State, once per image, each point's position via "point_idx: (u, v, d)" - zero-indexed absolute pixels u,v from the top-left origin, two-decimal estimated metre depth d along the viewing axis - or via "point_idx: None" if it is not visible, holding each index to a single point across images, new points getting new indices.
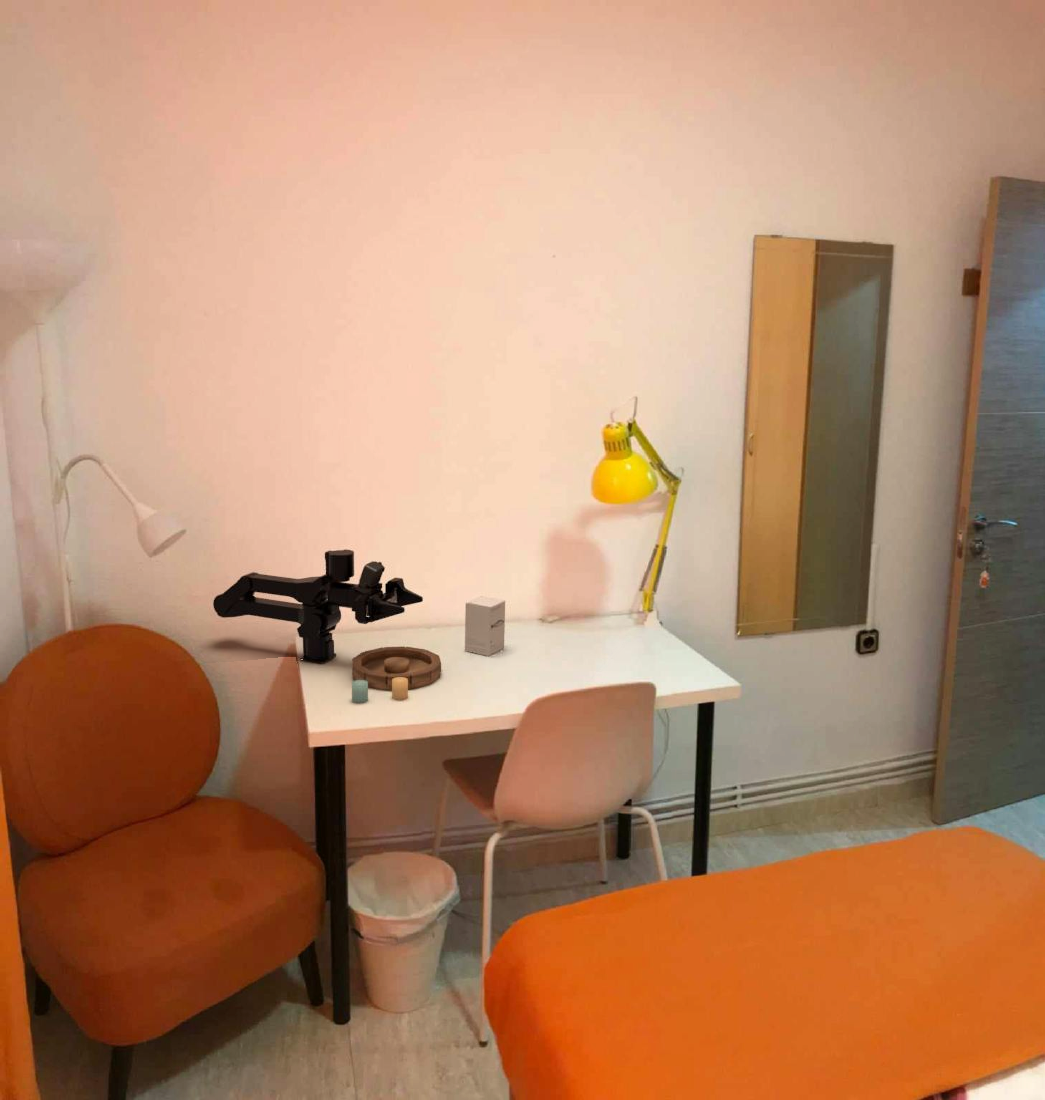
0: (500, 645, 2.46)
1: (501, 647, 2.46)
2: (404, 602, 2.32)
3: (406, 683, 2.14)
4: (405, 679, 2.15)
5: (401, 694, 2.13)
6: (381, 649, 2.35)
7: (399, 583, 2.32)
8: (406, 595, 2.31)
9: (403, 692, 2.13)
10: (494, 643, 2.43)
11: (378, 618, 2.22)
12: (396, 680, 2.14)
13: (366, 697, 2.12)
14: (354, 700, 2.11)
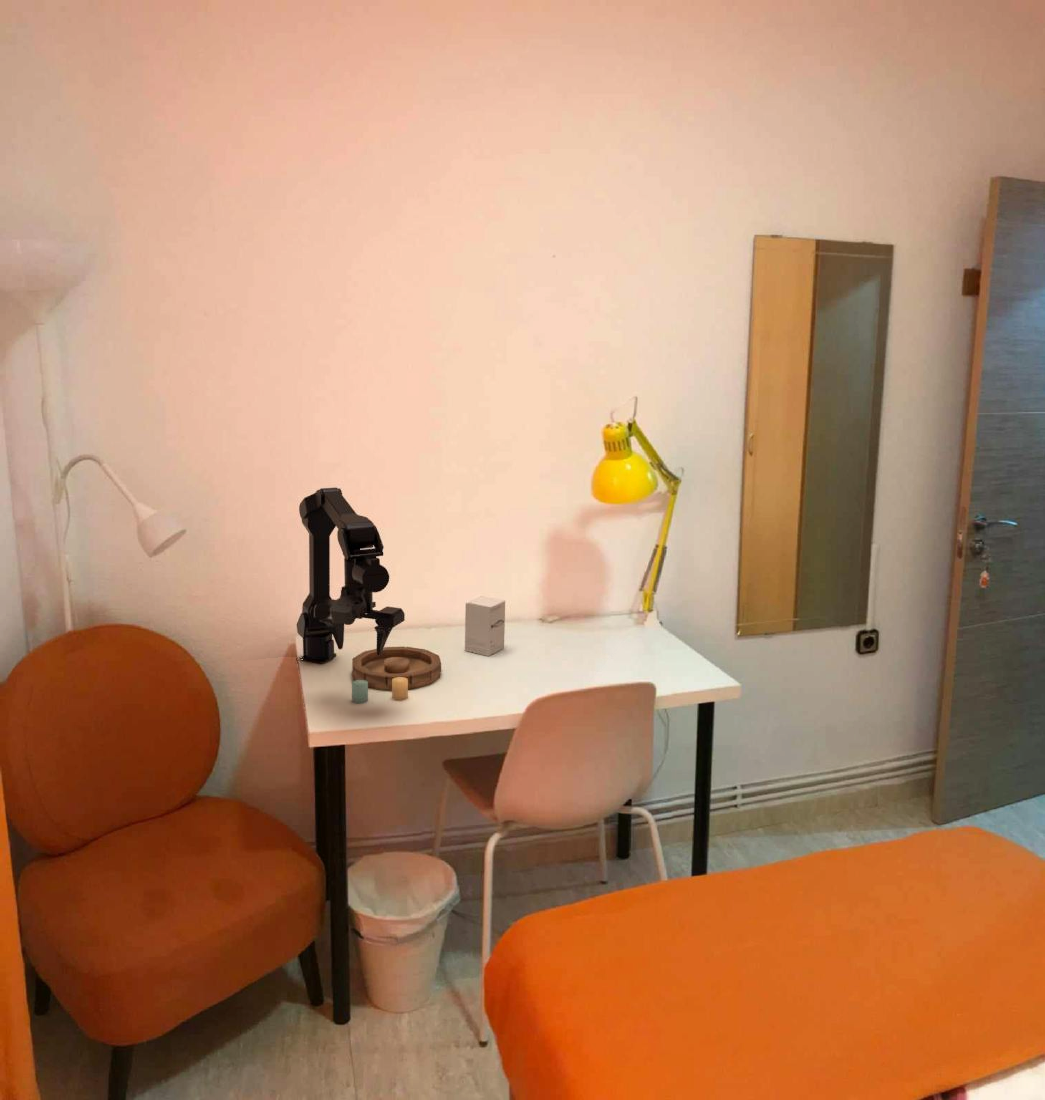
0: (500, 645, 2.46)
1: (501, 647, 2.46)
2: None
3: (406, 683, 2.14)
4: (405, 679, 2.15)
5: (401, 694, 2.13)
6: None
7: (377, 629, 2.05)
8: None
9: (403, 692, 2.13)
10: (494, 643, 2.43)
11: None
12: (396, 680, 2.14)
13: (366, 697, 2.12)
14: (354, 700, 2.11)
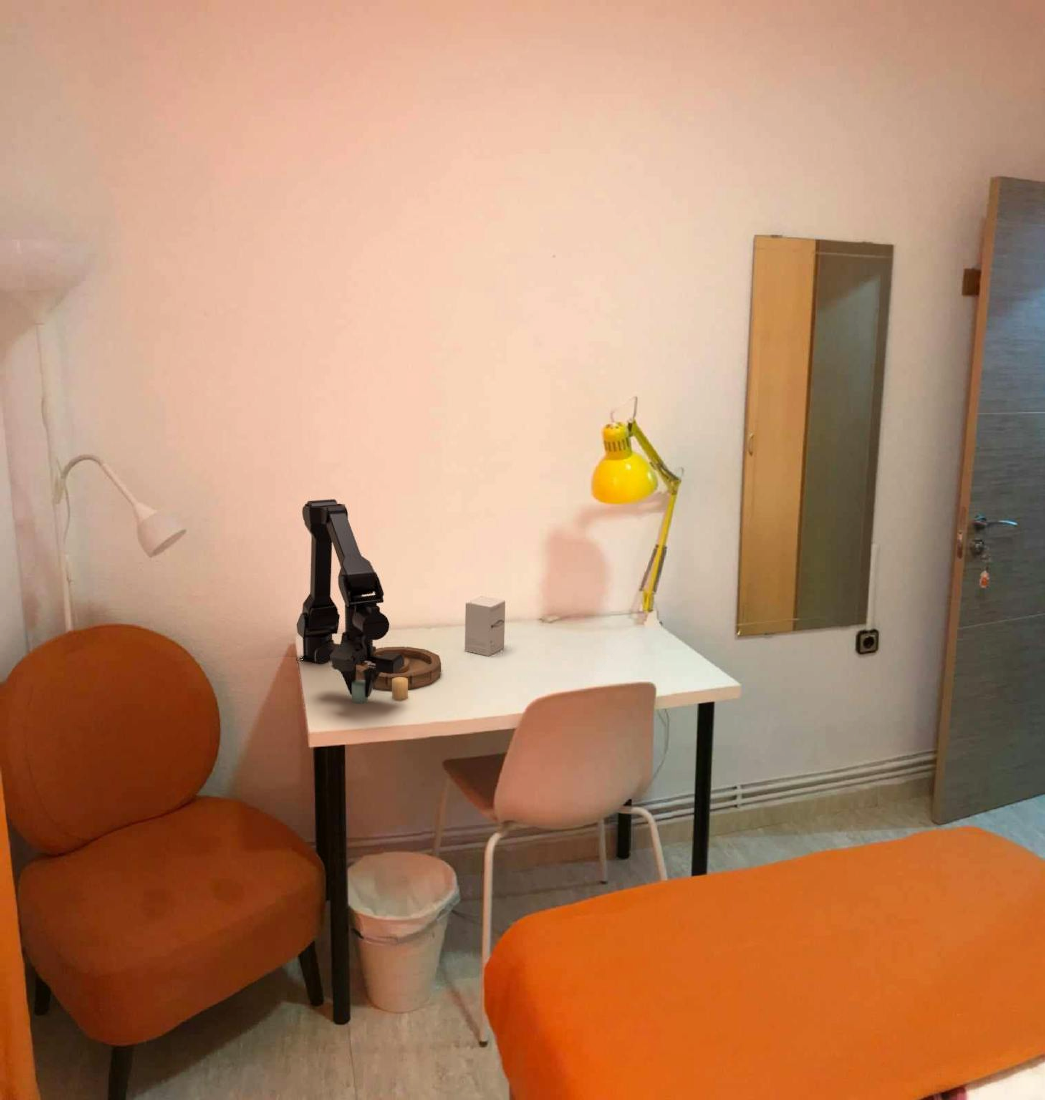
0: (500, 645, 2.46)
1: (501, 647, 2.46)
2: None
3: (406, 683, 2.14)
4: (405, 679, 2.15)
5: (401, 694, 2.13)
6: (381, 649, 2.35)
7: (365, 673, 2.08)
8: None
9: (403, 692, 2.13)
10: (494, 643, 2.43)
11: None
12: (396, 680, 2.14)
13: (366, 697, 2.12)
14: (354, 700, 2.11)
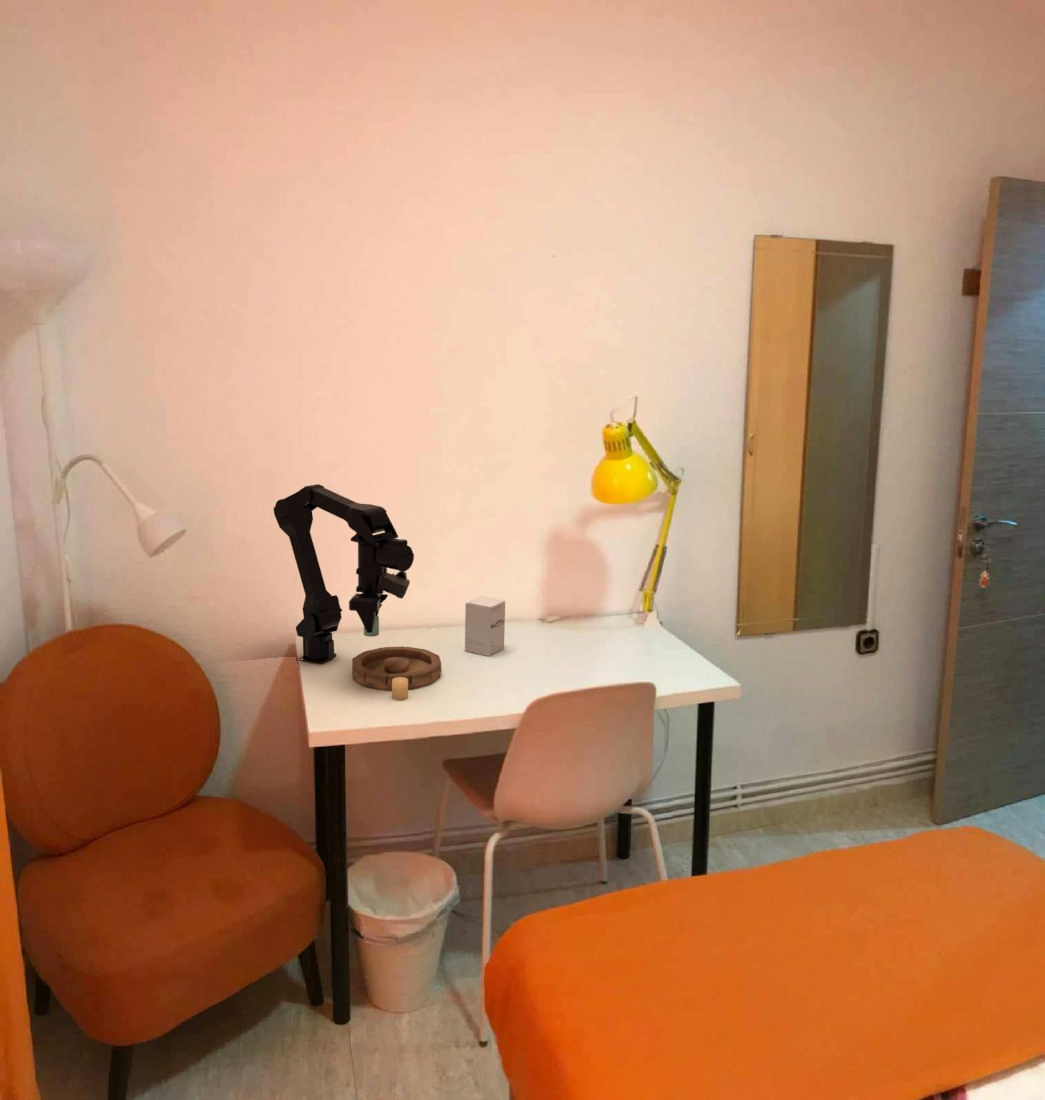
0: (500, 645, 2.46)
1: (501, 647, 2.46)
2: None
3: (406, 683, 2.14)
4: (405, 679, 2.15)
5: (401, 694, 2.13)
6: (381, 649, 2.35)
7: None
8: None
9: (403, 692, 2.13)
10: (494, 643, 2.43)
11: (358, 611, 2.20)
12: (396, 680, 2.14)
13: None
14: (378, 632, 2.25)
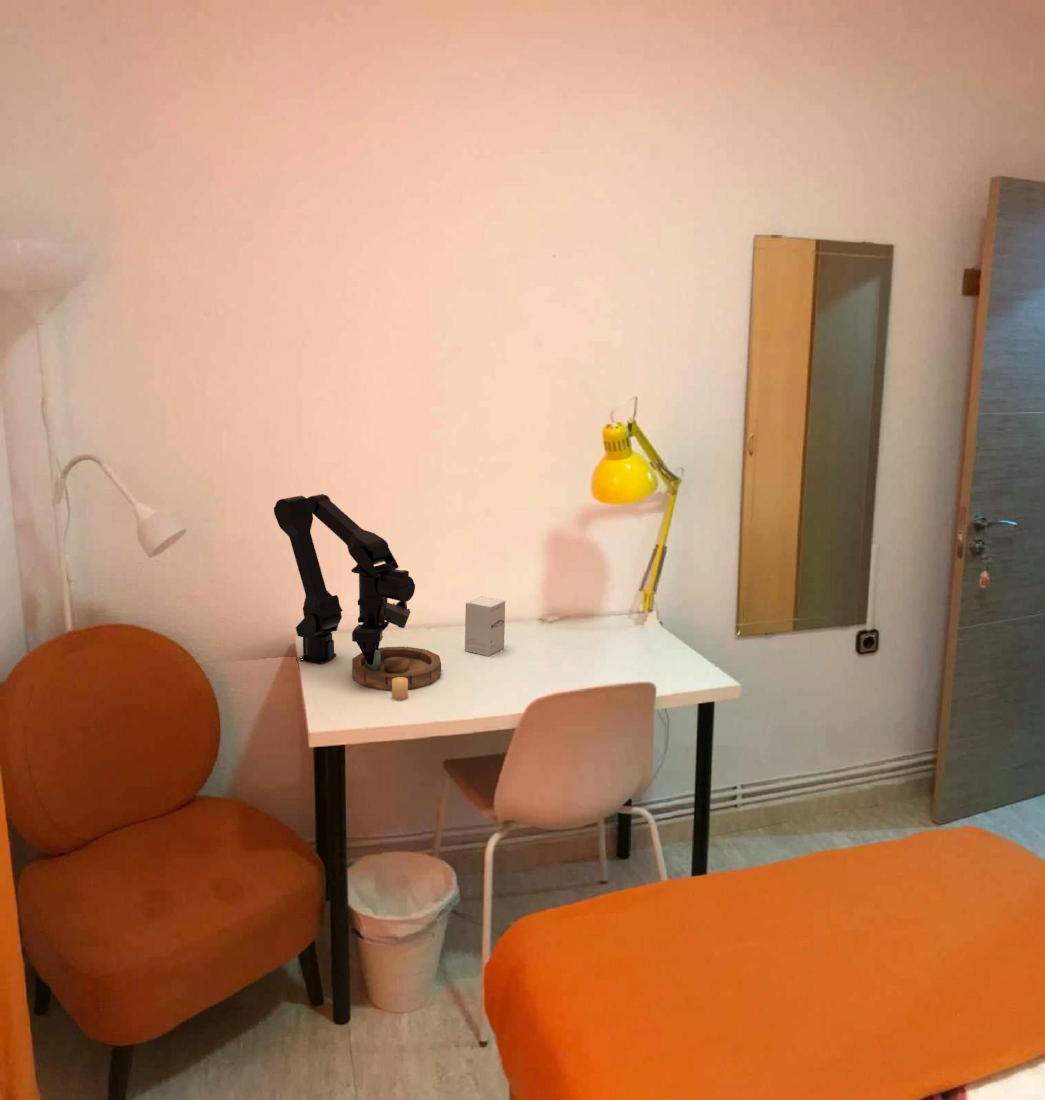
0: (500, 645, 2.46)
1: (501, 647, 2.46)
2: None
3: (406, 683, 2.14)
4: (405, 679, 2.15)
5: (401, 694, 2.13)
6: (381, 649, 2.35)
7: None
8: None
9: (403, 692, 2.13)
10: (494, 643, 2.43)
11: (359, 644, 2.21)
12: (396, 680, 2.14)
13: None
14: (379, 667, 2.28)
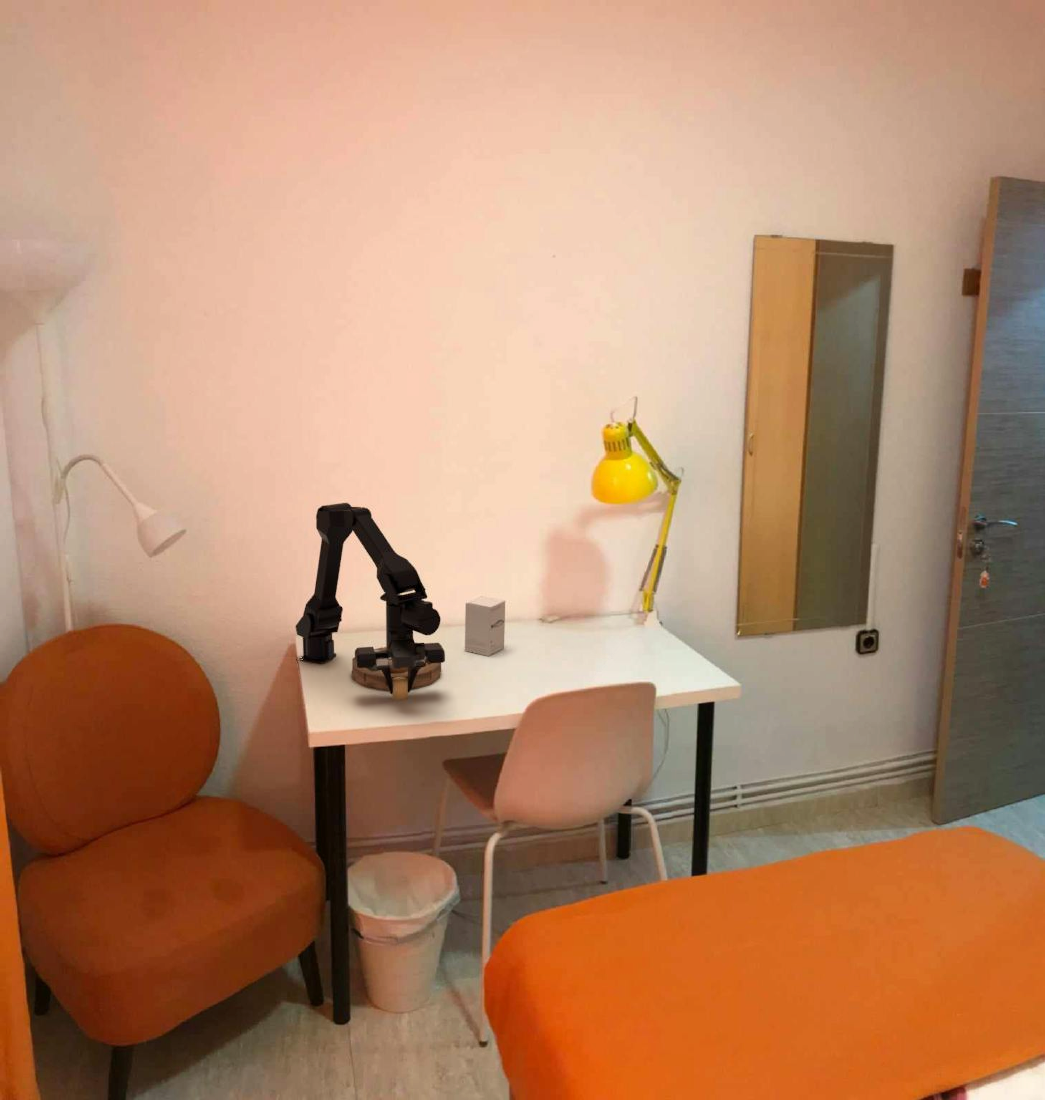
0: (500, 645, 2.46)
1: (501, 647, 2.46)
2: (409, 668, 2.16)
3: (406, 683, 2.14)
4: (405, 679, 2.15)
5: (401, 694, 2.13)
6: (381, 649, 2.35)
7: (415, 667, 2.12)
8: (409, 674, 2.14)
9: (403, 692, 2.13)
10: (494, 643, 2.43)
11: None
12: (396, 680, 2.14)
13: None
14: None
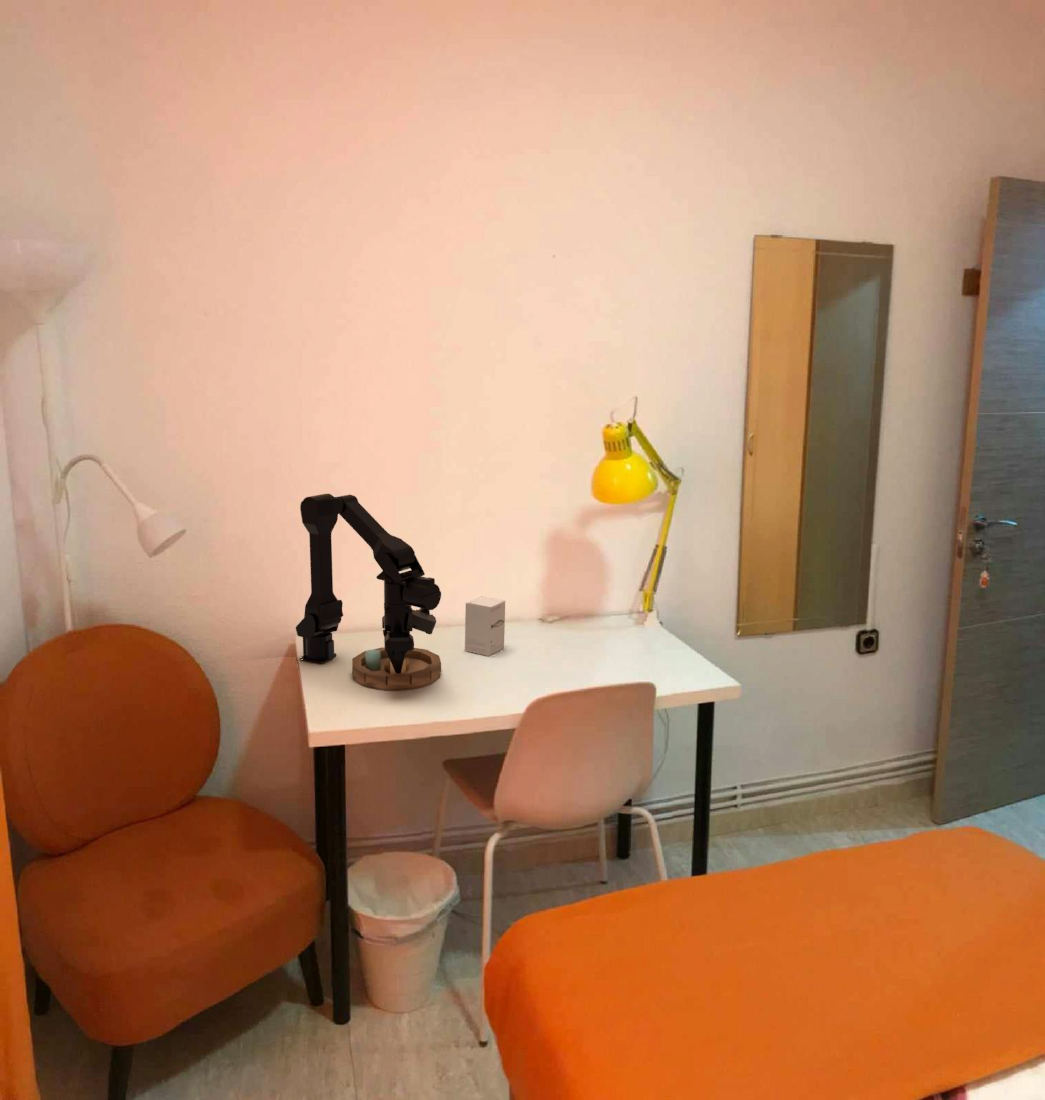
0: (500, 645, 2.46)
1: (501, 647, 2.46)
2: None
3: None
4: None
5: (405, 672, 2.23)
6: (381, 649, 2.35)
7: None
8: None
9: None
10: (494, 643, 2.43)
11: (388, 653, 2.16)
12: None
13: None
14: (379, 667, 2.28)
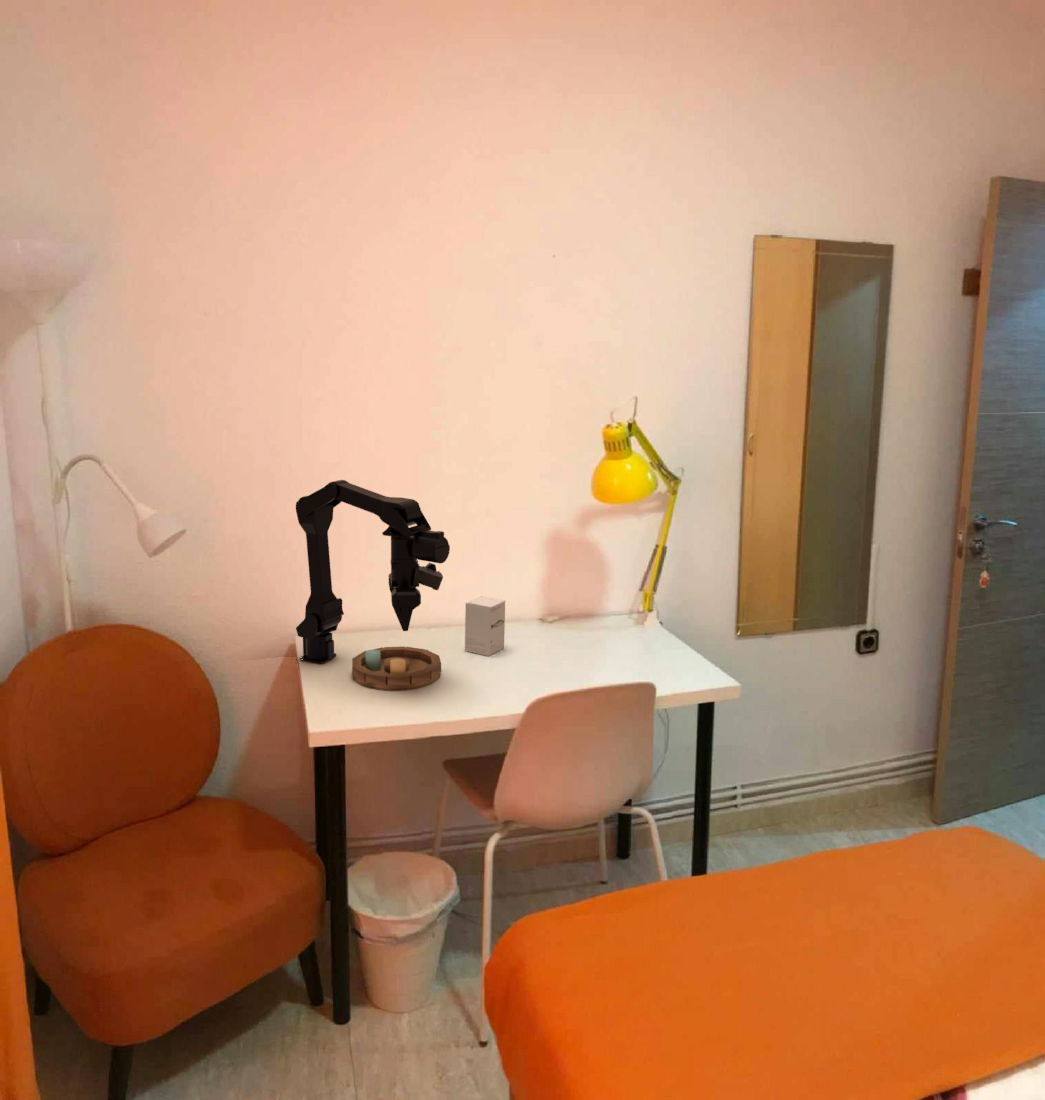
0: (500, 645, 2.46)
1: (501, 647, 2.46)
2: None
3: None
4: (397, 659, 2.23)
5: (405, 672, 2.23)
6: (381, 649, 2.35)
7: None
8: None
9: None
10: (494, 643, 2.43)
11: (395, 609, 2.15)
12: (398, 662, 2.21)
13: None
14: (379, 667, 2.28)
